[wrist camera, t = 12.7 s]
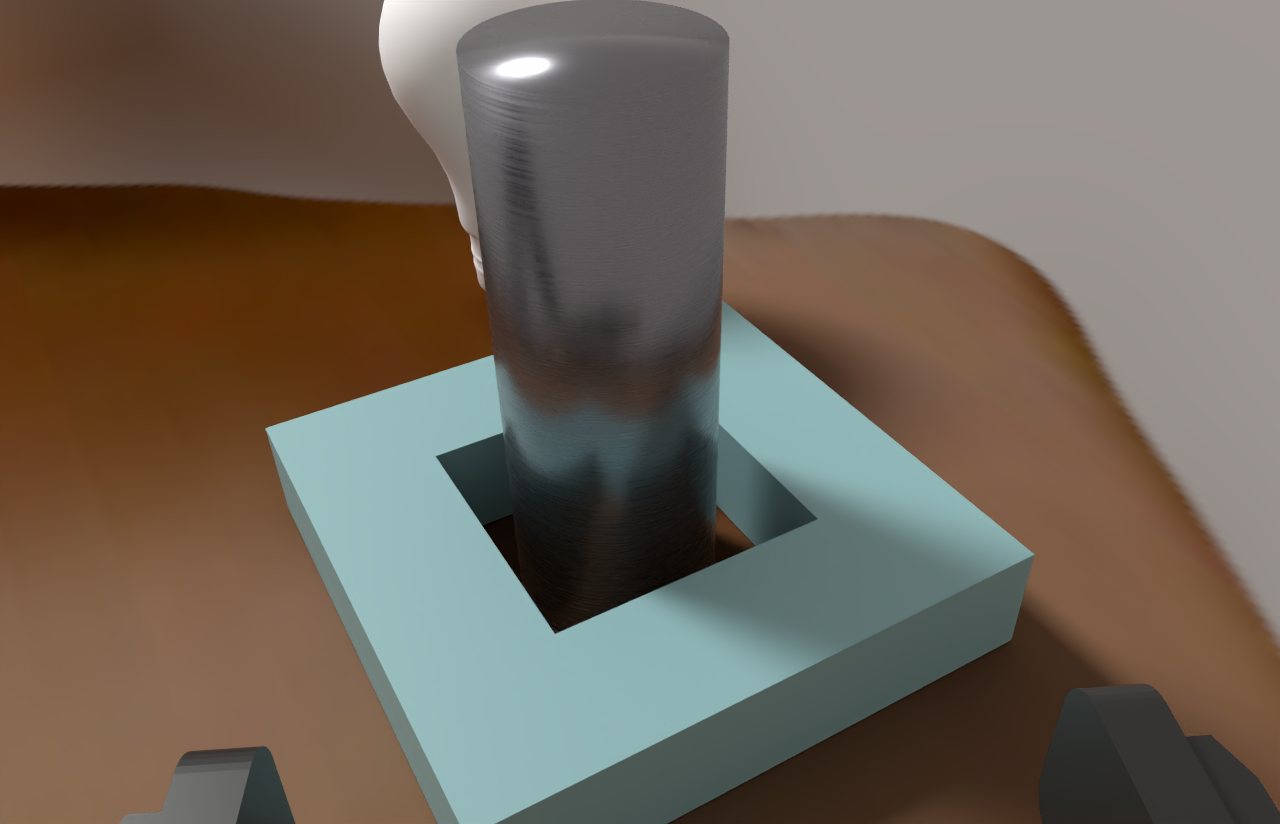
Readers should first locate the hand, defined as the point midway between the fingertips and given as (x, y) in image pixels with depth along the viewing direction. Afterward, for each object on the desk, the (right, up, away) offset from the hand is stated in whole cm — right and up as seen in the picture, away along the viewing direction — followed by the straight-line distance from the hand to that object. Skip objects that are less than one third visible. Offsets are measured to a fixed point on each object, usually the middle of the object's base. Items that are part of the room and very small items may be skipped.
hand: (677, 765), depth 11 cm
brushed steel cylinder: (-1, 0, +14) cm, 14 cm away
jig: (-1, 0, +14) cm, 14 cm away
